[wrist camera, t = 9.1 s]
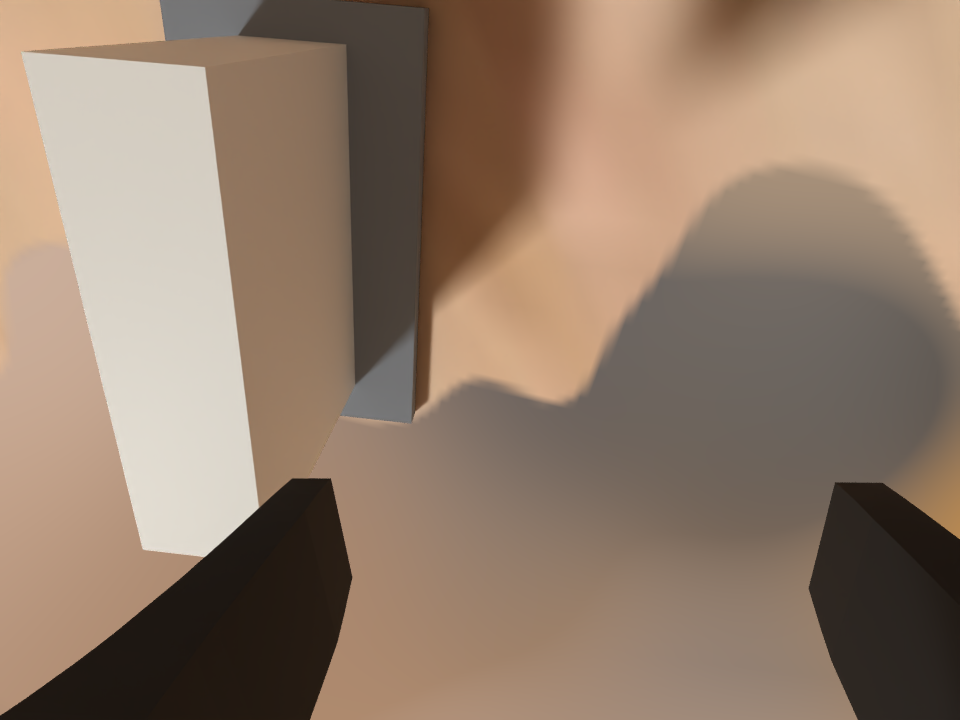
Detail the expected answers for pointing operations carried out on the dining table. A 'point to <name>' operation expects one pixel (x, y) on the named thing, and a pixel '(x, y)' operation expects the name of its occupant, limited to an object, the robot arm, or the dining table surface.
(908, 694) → the robot arm
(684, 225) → the dining table surface
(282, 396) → the block
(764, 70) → the dining table surface
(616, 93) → the dining table surface
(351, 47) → the mat
